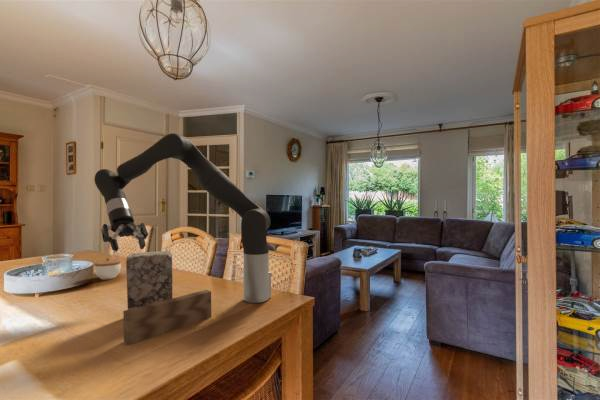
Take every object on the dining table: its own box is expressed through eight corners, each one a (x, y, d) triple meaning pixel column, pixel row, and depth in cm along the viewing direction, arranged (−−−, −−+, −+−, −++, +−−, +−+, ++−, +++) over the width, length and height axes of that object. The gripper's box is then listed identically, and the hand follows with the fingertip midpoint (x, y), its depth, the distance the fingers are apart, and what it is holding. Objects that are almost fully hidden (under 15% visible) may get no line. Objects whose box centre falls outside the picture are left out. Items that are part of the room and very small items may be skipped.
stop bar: (206, 314, 96) (206, 289, 96) (211, 316, 94) (211, 291, 94) (123, 341, 78) (123, 311, 78) (127, 345, 76) (127, 314, 76)
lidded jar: (118, 273, 149) (118, 254, 149) (123, 277, 141) (123, 258, 141) (92, 277, 141) (92, 257, 141) (96, 282, 133) (96, 261, 133)
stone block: (126, 323, 90) (125, 256, 90) (127, 315, 96) (127, 253, 96) (174, 314, 96) (173, 252, 96) (172, 307, 102) (171, 249, 102)
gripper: (100, 206, 104) (110, 244, 98) (142, 206, 115) (154, 241, 109) (94, 219, 108) (103, 257, 101) (136, 218, 119) (147, 252, 112)
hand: (130, 249), depth 105 cm, fingers open, 8 cm apart
